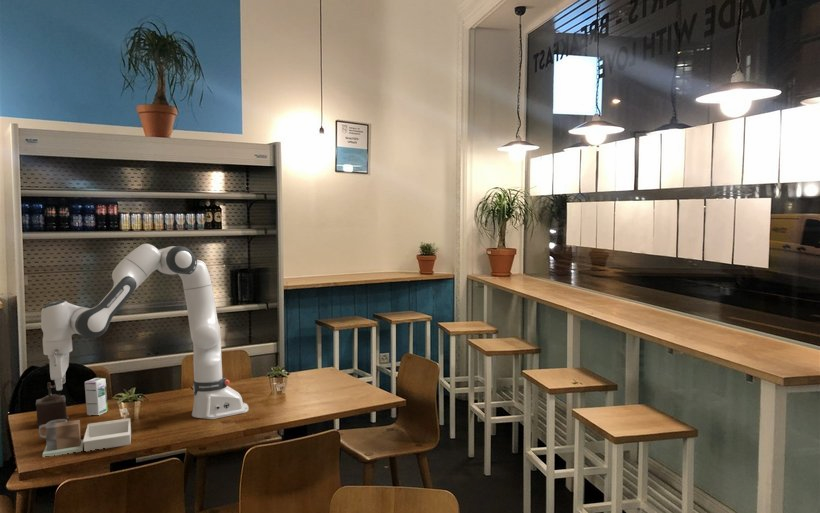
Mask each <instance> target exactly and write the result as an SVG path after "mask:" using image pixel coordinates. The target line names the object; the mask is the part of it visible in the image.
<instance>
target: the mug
mask: <svg viewBox="0 0 820 513" xmlns="http://www.w3.org/2000/svg"><path fill="white" fill-rule="evenodd" d="M60 422H68V421H67V420H66V419H58V420H53V421H50V422H48V423H46V424H44V425H41V426H39V428H38V435H39V437H40V438H42V439H45V440H46V434H43V428H45V429H46V427H47V424H53V423H60Z"/></svg>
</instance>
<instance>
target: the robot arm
mask: <svg viewBox="0 0 820 513" xmlns="http://www.w3.org/2000/svg"><path fill="white" fill-rule="evenodd" d="M155 271H156V272H158V273H159V274H161V275H170V276H171V275H179V277H180V279H181V281H182V287H183V288H182V289H183V294H184V298H185V299H184V300H185V306H186V309H187V317H188V325H189V331H190V337H191V341H192V343H193V346H192V348H193V356H192V359H193V377H194V378H193V379H194V380H193V383H192V388H193V395H194V396H193V407H192V412H191V417H192V418H197V419H207V420H215V419H220V418H224V417H225V418H226V417H230V416H235V415H240V414H245V413H247V412H249V410H250V409H249V404H247V403H245V402H243V398H242V397H243V396H241V394H240V393H239V392H238V391H237V390H235V389H233V388H232V387H230V386H229V385H230V384H231V382H230V380H229V379H228V378H226V377H223V364H222V363H223V361H222V336H221V335H222V334H221V331H222V330H221V326H220V323H219V320H218V313H217V306H216V300H215V295H214V288H213V284H212V280H211V275H210V272H209V269H208V266H207V264H206V263H205V262H204V261H203V260H201V259H197V258H196V257H195V255H194V253H193V252H192V251H191V250H190V248H188V247H185V246H184V245H183V246H182V245H176V246H167V247H164V248H157V247H156V246H154V245H152V244H150V243H143V244H141V245H139V246H137V247H136V248H134V249H133V250H132V251H130V252H129V253H128V254H127V255H126V256H125V257H124V258H122V259H121V261H119V262H118V264H117V265H116V266H115V267H114V269H113V271H112V273H111V278H112V281H113V286H112V288H111V290H110V291H109V292H108V293H107V294H106V295H105V296H104V297H103V299H102V300H101V301H100V302H99V303H98V304H97V305H96V306H93V307H92V308H89V307H86V306H85V307H84V306H80V305H75V304H73V303H70V302H68V301H67V300H65V299H64V300H62V299H61V300H54V301H50V302H48V303H46V304H44V306H42V308H41V313H40V326H41V331H42V333H43V334H42V335H43V336H42V349H43V351H42V352H43V355H45V356H47V358H48V360H49V375H50V380H51V381H54V385H56V387H55V390H56V391H62V390H63V385H64V384H65V383H66V372H67V370H68V368H69V365H70V364H69V363H70V353H71V352H73V351H74V350H73V349H74V348H73V340H72V337H73V335H75V334H76V335H77V334H78V335H80V336H82V337H84V338H86V339H97V338H99V337H101V336H103V335H104V334H105V333H106V332H107V331H108V328H109V326H110V324H111V321H112V319H113V318H114V316H115V314H117V313H118V312H119V310H120V309H121V308H122V306H123V305H124V304H125V303H126V302H127V300H128V299H130V297H131V295H132V294H134V292H136V290H137V289H138V288H139V286H141V285H142V284H143V283H144V282H145V281H146V280H147V278H149V277H150V276H151V274H152V273H154V272H155Z"/></svg>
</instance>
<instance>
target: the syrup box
mask: <svg viewBox="0 0 820 513" xmlns="http://www.w3.org/2000/svg"><path fill="white" fill-rule="evenodd" d="M84 391H85V404H86V405H85V406H86V415H87V416H91V415H99V416H101V415H103V414H105V413H107V411H108V412H109V408H108V394H107V382H106V378H103V377H94V378H92V379H89V380H86V381H84Z"/></svg>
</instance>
